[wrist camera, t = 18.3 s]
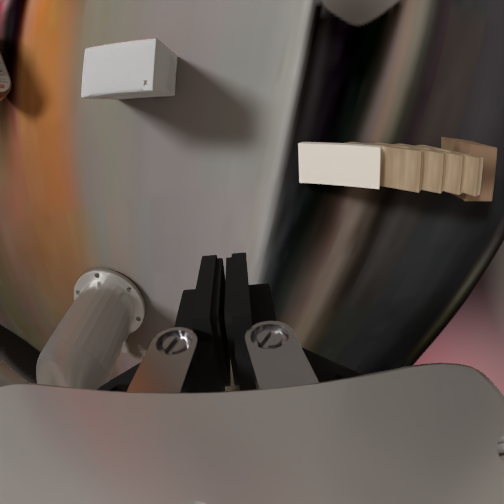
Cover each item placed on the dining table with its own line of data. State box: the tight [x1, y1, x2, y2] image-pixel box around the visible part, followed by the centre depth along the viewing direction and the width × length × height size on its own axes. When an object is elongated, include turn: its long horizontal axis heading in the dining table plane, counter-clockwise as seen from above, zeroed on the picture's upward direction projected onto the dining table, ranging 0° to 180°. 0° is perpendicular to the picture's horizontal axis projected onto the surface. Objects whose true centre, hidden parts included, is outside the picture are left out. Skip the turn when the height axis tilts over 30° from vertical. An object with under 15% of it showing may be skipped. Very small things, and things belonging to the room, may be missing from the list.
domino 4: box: [394, 144, 466, 195], centre depth 35 cm, size 2×5×10 cm
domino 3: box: [371, 142, 446, 194], centre depth 35 cm, size 2×5×10 cm
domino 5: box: [417, 145, 483, 196], centre depth 34 cm, size 2×5×10 cm, turn 4°
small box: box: [81, 38, 177, 100], centre depth 28 cm, size 8×6×10 cm
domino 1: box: [298, 142, 381, 189], centre depth 35 cm, size 2×5×10 cm
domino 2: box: [346, 142, 424, 193], centre depth 35 cm, size 2×5×10 cm
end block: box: [441, 137, 497, 201], centre depth 36 cm, size 8×6×7 cm
